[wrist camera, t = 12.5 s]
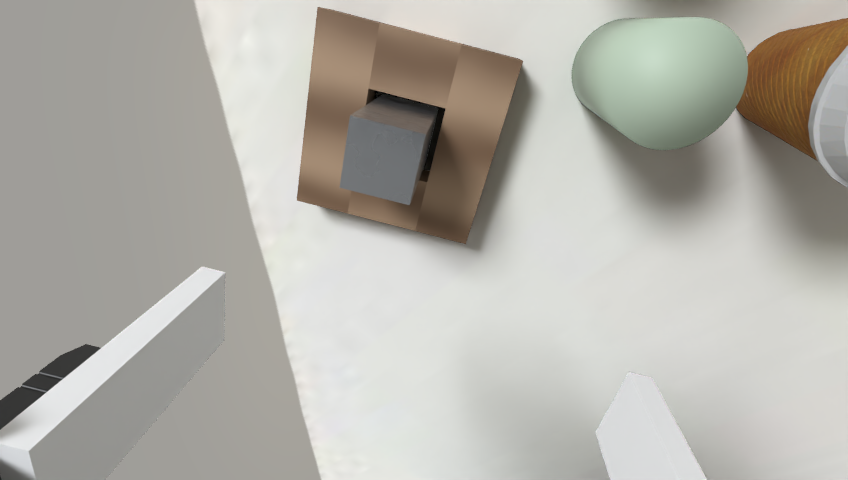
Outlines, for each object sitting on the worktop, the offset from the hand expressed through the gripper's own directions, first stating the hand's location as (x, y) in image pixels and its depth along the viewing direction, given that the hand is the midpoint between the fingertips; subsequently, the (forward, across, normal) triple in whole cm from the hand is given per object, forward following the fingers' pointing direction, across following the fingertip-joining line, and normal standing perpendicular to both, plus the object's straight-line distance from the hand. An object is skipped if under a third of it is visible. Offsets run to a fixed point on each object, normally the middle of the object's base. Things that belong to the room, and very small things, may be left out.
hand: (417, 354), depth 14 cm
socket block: (+23, +4, -2) cm, 24 cm away
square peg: (+23, +4, -2) cm, 24 cm away
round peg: (+23, -10, -10) cm, 27 cm away
